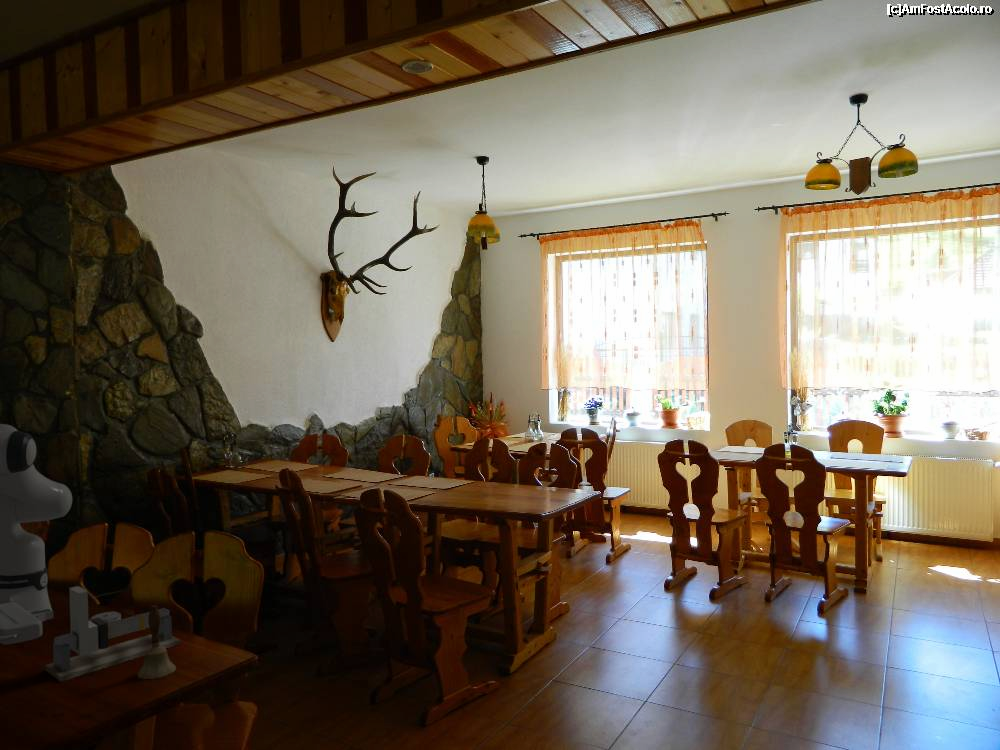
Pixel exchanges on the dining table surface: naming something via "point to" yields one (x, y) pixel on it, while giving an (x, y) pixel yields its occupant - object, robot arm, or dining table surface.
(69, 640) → the grey clamp fixture
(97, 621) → the dark grey rubber pad
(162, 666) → the hand bell
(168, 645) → the base board
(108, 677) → the dining table surface
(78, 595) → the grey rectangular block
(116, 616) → the mechanical component
